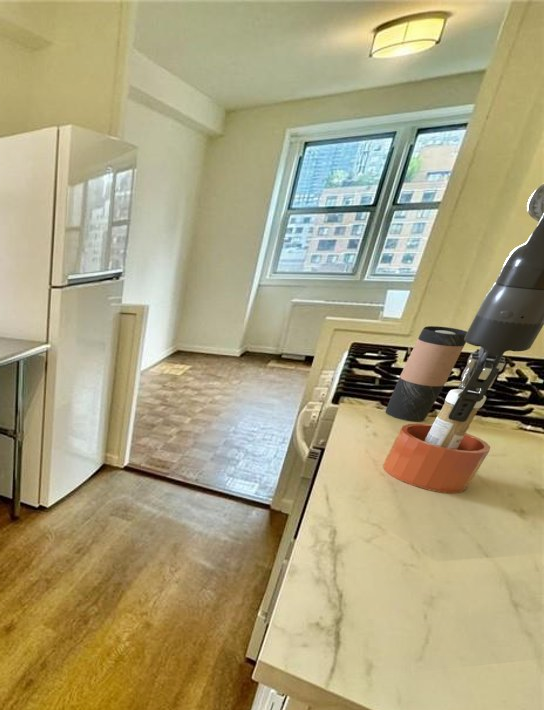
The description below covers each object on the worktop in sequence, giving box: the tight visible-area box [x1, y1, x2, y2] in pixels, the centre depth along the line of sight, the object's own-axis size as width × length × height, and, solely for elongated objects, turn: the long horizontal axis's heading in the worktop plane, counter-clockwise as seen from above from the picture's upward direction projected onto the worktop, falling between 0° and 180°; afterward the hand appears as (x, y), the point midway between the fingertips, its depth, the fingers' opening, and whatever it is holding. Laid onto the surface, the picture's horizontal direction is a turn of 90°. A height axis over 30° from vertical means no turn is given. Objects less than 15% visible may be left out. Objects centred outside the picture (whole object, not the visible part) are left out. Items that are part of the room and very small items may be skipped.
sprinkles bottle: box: [424, 388, 487, 450], centre depth 85 cm, size 5×5×14 cm
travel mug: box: [385, 325, 468, 422], centre depth 108 cm, size 8×8×20 cm
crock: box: [382, 423, 491, 494], centre depth 87 cm, size 12×12×8 cm
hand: (456, 415), depth 83 cm, fingers closed on sprinkles bottle, 4 cm apart
